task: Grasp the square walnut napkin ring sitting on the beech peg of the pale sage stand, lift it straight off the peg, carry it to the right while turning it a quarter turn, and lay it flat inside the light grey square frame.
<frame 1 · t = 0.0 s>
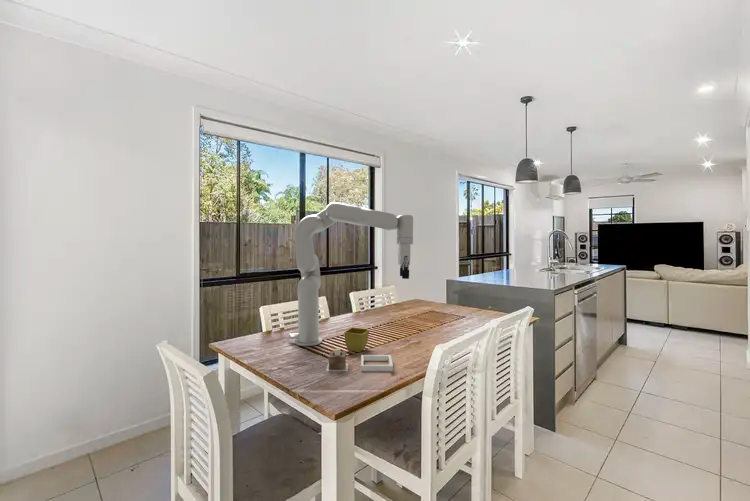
hand: (404, 277, 172), 31 cm above the table, fingers open, 9 cm apart
peg stand: (337, 368, 139), on the table
light grey square frame: (376, 366, 142), on the table
flower pot: (356, 351, 160), on the table
napkin ring: (337, 366, 139), point 1 cm above the table, touching peg stand
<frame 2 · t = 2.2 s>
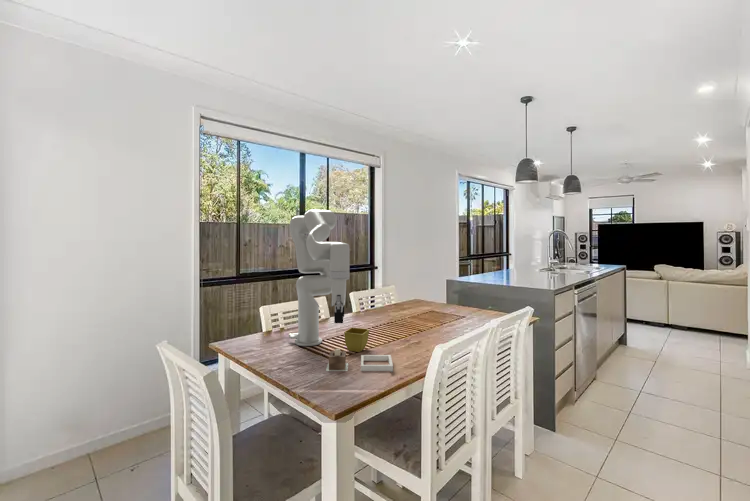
hand: (339, 319, 139), 19 cm above the table, fingers open, 9 cm apart
nothing on the table moved.
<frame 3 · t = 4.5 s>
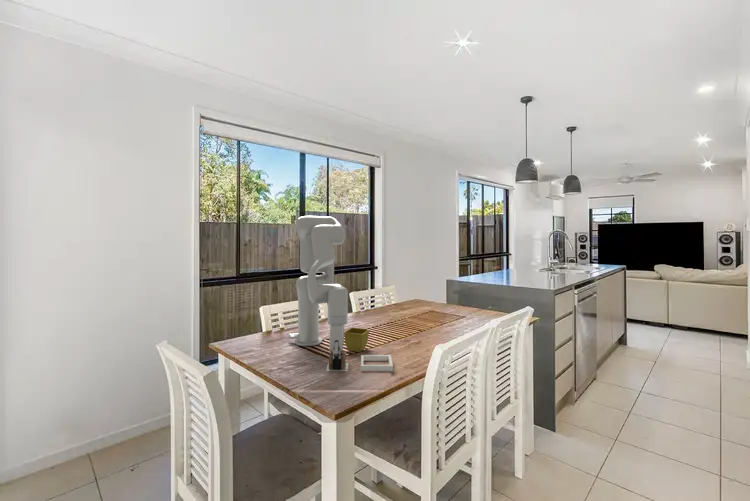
hand: (337, 365, 139), 1 cm above the table, fingers closed on napkin ring, 5 cm apart
napkin ring: (337, 366, 139), point 1 cm above the table, touching gripper, peg stand
everything else where it was.
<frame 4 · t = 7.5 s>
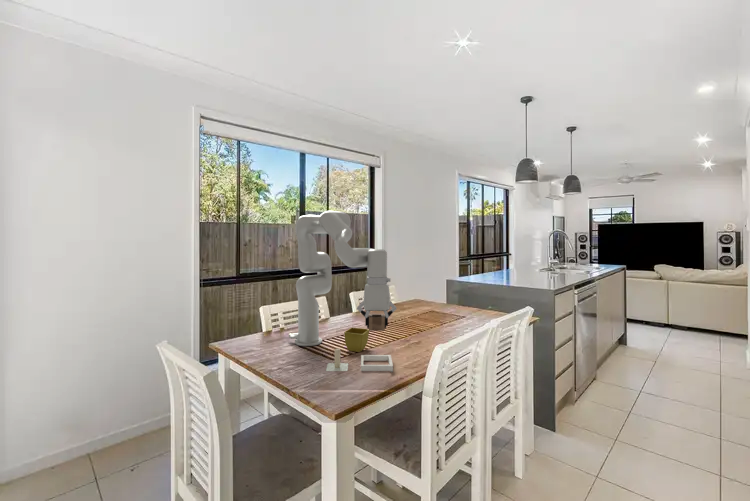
hand: (376, 327, 141), 16 cm above the table, fingers closed on napkin ring, 6 cm apart
napkin ring: (376, 328, 141), point 15 cm above the table, touching gripper
everything else where it was.
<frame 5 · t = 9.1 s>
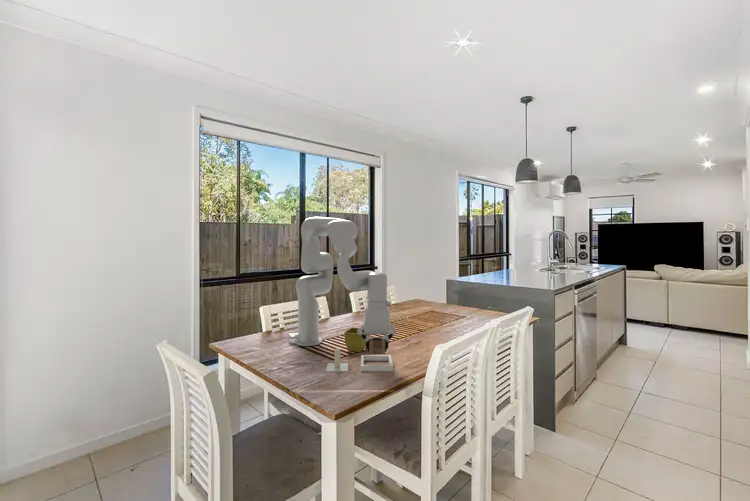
hand: (376, 350, 141), 6 cm above the table, fingers closed on napkin ring, 6 cm apart
napkin ring: (376, 351, 141), point 6 cm above the table, touching gripper
everything else where it was.
when the fingers open (3 cm above the table, at t = 10.3 s): napkin ring drops 2 cm, resting on light grey square frame.
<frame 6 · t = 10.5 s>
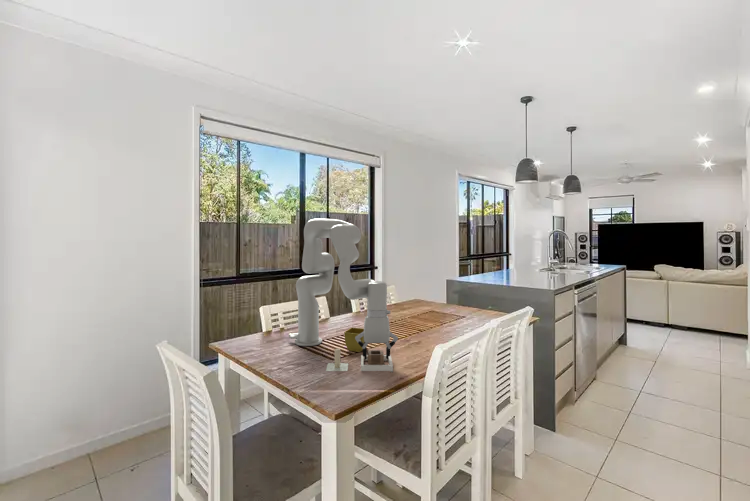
hand: (376, 357, 142), 3 cm above the table, fingers open, 8 cm apart
napkin ring: (375, 365, 142), resting on light grey square frame
everything else where it was.
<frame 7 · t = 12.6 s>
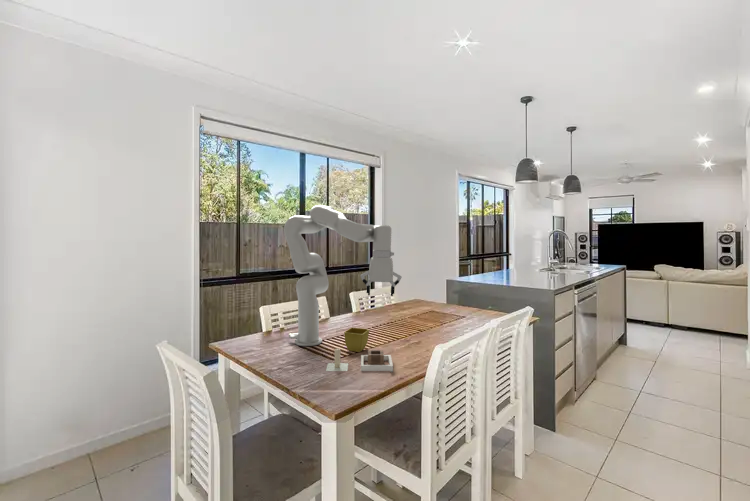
hand: (380, 295, 153), 26 cm above the table, fingers open, 9 cm apart
nothing on the table moved.
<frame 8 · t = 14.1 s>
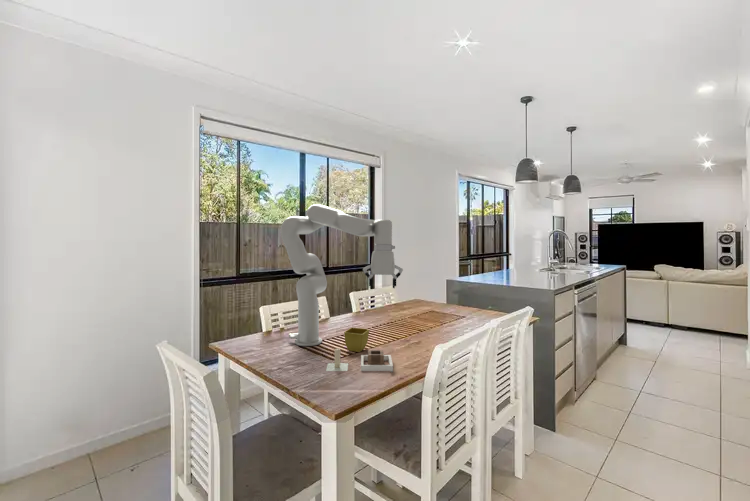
hand: (382, 287, 157), 28 cm above the table, fingers open, 9 cm apart
nothing on the table moved.
at the end: napkin ring 0.3 cm off-centre on the light grey square frame, point 0.5 cm above the light grey square frame's base; napkin ring tilted 0°; the gripper is holding nothing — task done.
